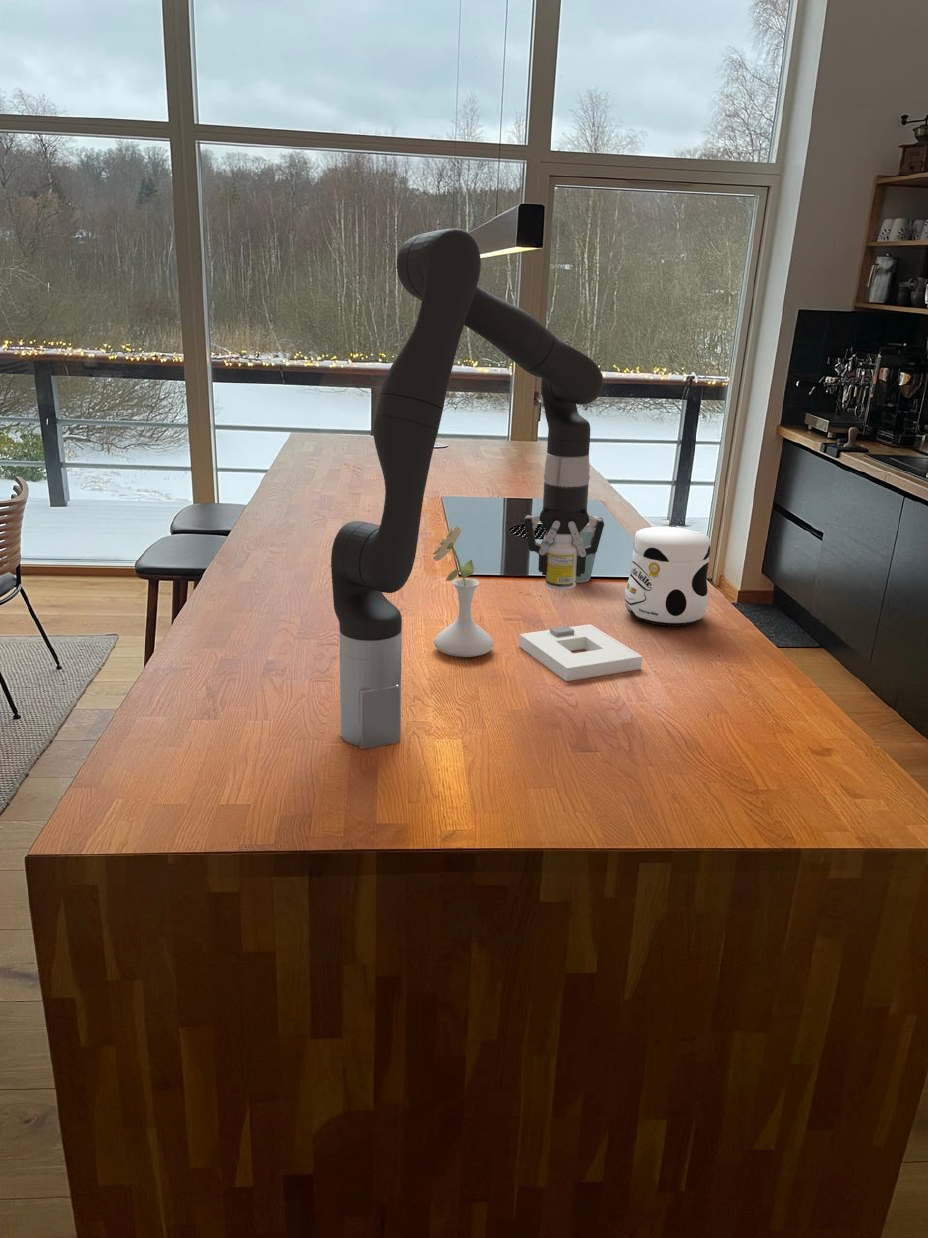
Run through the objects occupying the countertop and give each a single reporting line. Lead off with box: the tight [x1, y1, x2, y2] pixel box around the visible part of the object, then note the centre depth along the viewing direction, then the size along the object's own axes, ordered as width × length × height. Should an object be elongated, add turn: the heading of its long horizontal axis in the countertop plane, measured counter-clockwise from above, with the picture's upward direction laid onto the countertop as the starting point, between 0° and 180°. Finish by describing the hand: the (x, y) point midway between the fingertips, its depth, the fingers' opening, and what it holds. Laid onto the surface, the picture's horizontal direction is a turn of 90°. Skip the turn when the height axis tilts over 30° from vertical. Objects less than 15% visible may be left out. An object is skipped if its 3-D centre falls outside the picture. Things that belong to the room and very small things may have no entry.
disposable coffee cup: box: [573, 513, 600, 584], centre depth 223 cm, size 11×11×15 cm
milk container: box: [624, 526, 711, 627], centre depth 199 cm, size 17×17×18 cm
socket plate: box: [518, 623, 643, 682], centre depth 178 cm, size 18×16×3 cm
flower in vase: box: [432, 525, 495, 658], centre depth 175 cm, size 13×11×25 cm
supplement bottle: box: [545, 534, 578, 591], centre depth 165 cm, size 5×5×10 cm
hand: (561, 574), depth 166 cm, fingers closed on supplement bottle, 5 cm apart
